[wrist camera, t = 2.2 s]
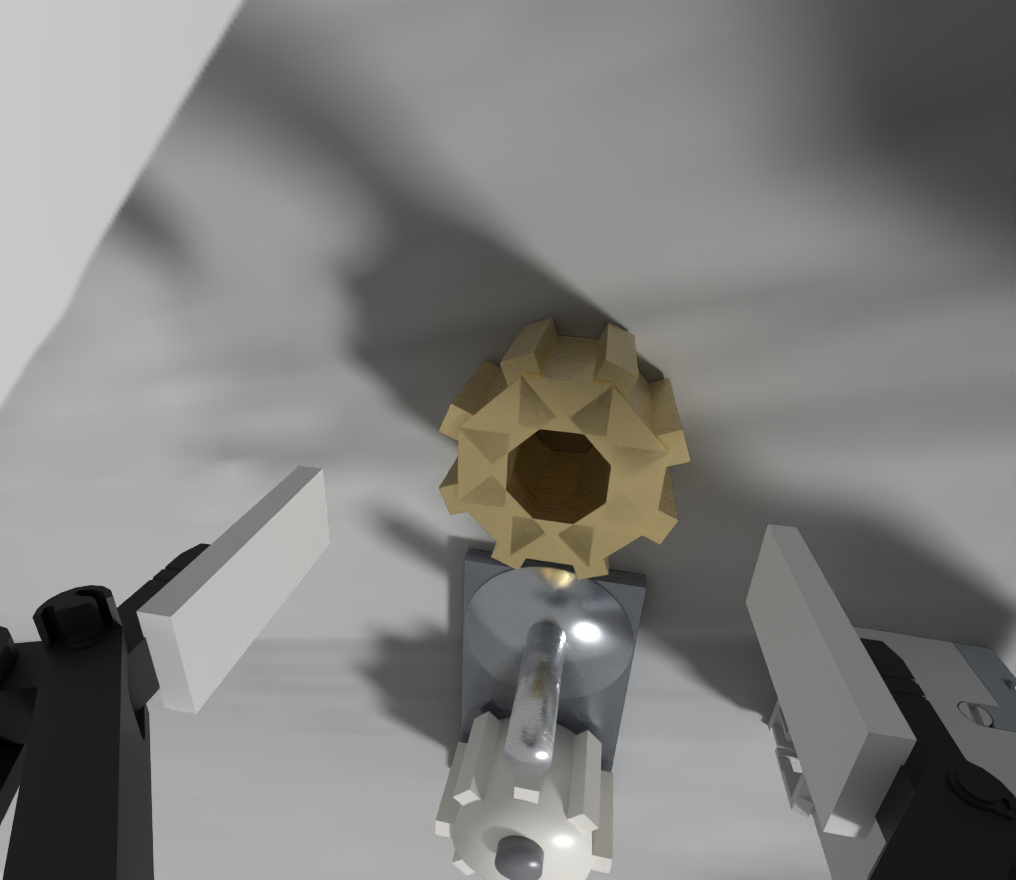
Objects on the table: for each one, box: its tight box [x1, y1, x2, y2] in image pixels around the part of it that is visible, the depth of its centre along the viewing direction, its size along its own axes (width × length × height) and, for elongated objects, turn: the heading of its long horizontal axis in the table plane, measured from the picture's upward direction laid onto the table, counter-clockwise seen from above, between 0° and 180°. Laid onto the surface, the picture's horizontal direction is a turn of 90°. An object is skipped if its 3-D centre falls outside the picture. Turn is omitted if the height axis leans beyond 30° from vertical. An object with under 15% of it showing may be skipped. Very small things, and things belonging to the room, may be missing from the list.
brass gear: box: [439, 317, 691, 580], centre depth 22 cm, size 9×9×6 cm
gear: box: [436, 711, 613, 880], centre depth 30 cm, size 9×9×6 cm
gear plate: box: [461, 549, 646, 775], centre depth 28 cm, size 9×18×8 cm, turn 177°
